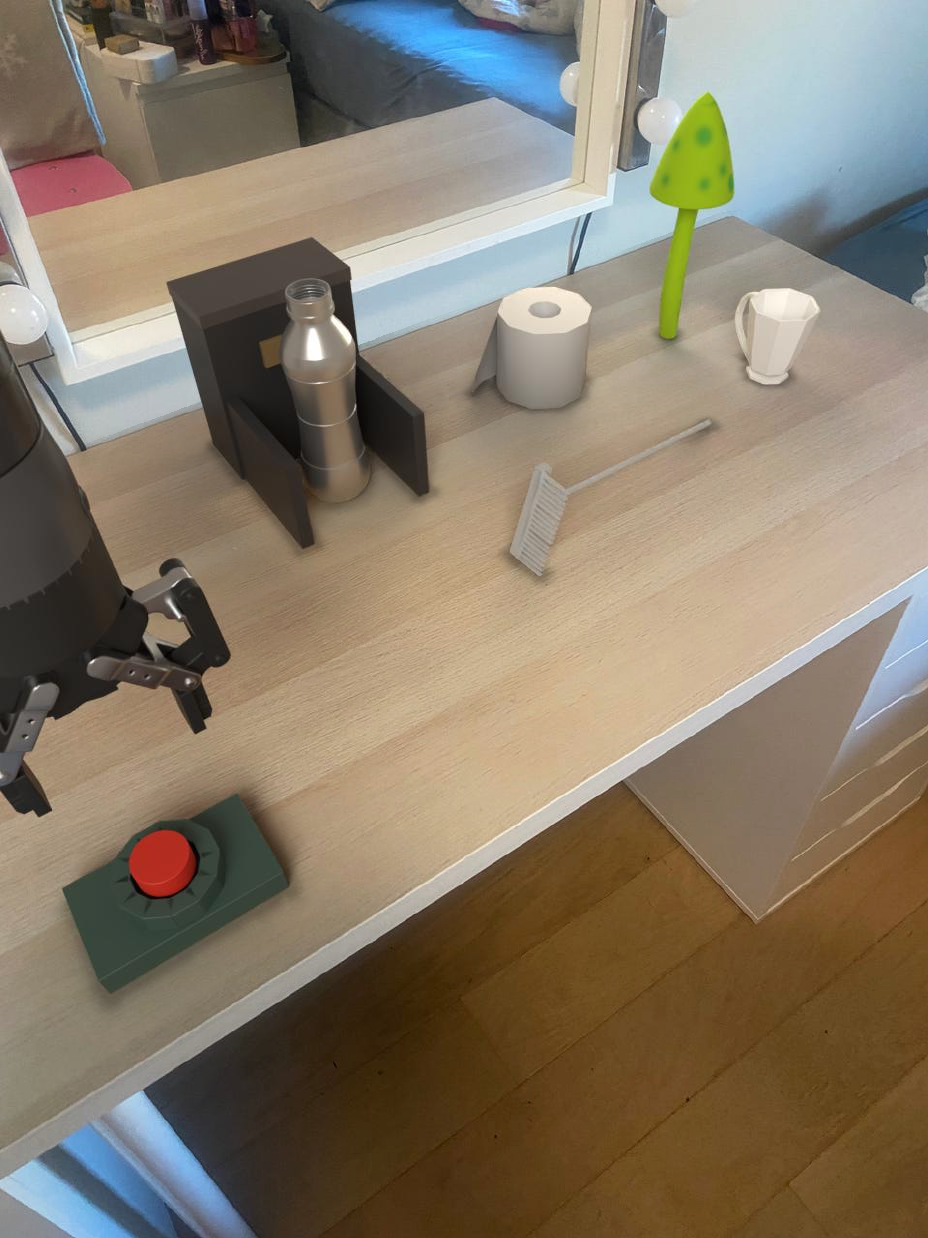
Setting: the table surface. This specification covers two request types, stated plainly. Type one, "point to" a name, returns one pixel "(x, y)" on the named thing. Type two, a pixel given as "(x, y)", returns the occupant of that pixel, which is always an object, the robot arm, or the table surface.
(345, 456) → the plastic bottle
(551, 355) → the toilet tissue
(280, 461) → the dark box with flaps
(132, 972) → the control pad
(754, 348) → the cup
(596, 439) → the table surface
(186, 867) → the stop button
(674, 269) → the mushroom
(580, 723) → the table surface
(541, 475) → the brush
